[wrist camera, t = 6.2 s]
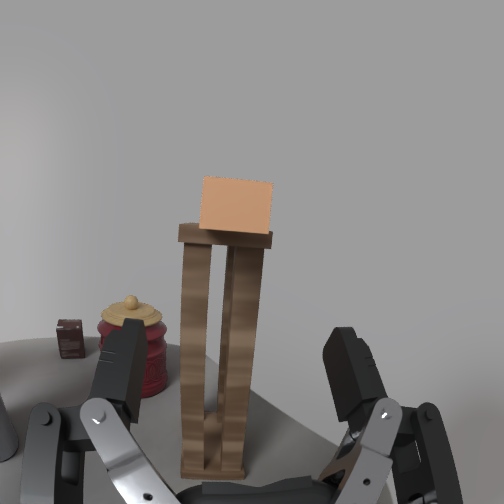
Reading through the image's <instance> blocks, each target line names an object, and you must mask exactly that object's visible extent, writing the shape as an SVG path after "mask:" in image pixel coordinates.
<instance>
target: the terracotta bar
mask: <svg viewBox="0 0 504 504" xmlns="http://www.w3.org/2000/svg"><path fill="white" fill-rule="evenodd" d="M272 189H273V183H268V182H260V181H251V180H242V179H232V178H221V177H210V176H204V181H203V191H202V202H201V213H200V223H199V228H201V229H214V230H226V231H238V232H250V233H262V234H268V233H269V221H270V211H271V200H272Z"/></svg>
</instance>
